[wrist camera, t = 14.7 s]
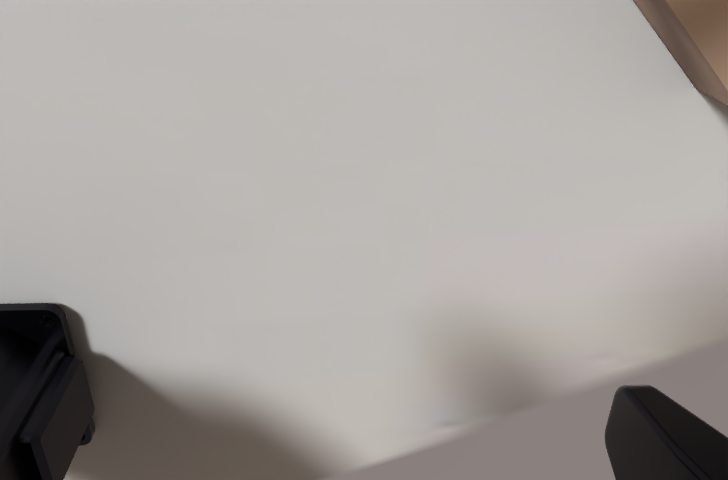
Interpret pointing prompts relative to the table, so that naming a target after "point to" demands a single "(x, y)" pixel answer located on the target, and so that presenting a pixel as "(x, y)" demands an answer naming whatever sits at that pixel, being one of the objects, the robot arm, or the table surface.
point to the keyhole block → (694, 39)
